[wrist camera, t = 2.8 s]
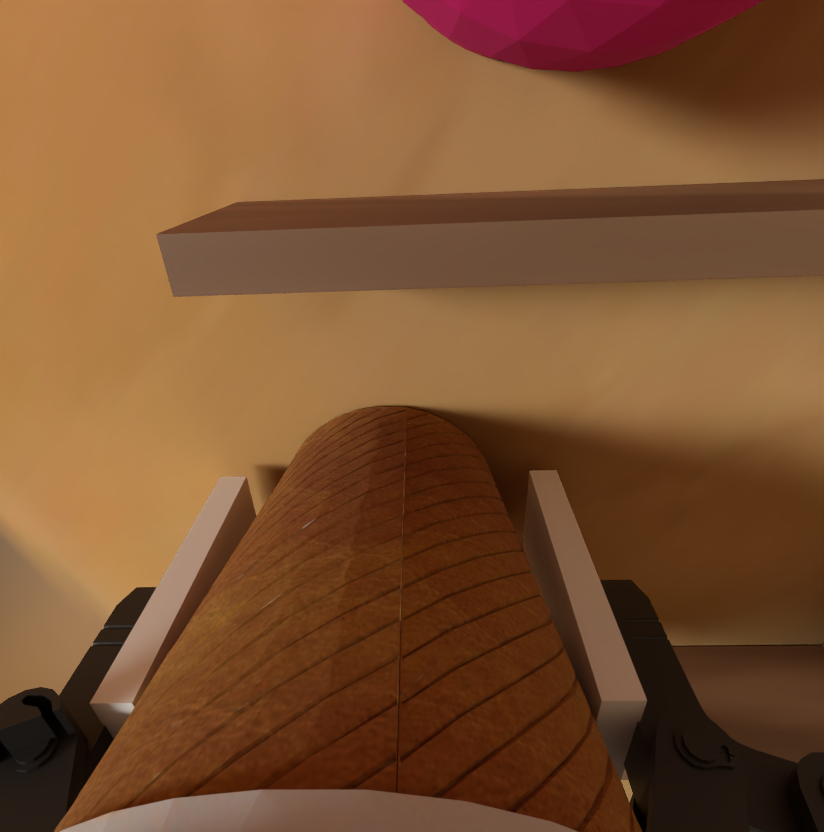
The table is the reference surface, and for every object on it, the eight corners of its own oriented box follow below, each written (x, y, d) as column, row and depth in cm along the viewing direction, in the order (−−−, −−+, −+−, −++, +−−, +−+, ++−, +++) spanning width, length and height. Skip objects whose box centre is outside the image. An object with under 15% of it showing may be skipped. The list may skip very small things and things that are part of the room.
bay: (852, 666, 19) (1011, 865, 14) (328, 670, 20) (296, 861, 15) (1184, 149, 11) (1930, 169, 5) (234, 187, 11) (71, 238, 6)
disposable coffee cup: (511, 306, 12) (960, 1199, 2) (568, 568, 17) (800, 1266, 7) (175, 403, 14) (-534, 1195, 4) (309, 620, 18) (165, 1253, 8)
